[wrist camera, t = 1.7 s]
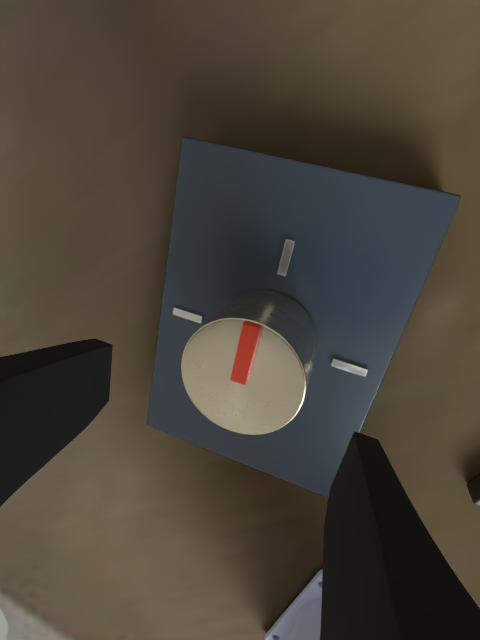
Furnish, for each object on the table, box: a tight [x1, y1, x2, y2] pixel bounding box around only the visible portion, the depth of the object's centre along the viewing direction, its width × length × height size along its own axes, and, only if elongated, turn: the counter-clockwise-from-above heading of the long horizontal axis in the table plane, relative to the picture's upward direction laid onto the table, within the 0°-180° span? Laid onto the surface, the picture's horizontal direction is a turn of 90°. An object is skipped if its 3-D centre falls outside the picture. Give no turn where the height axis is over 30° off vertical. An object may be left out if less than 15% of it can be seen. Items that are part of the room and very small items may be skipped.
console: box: [147, 137, 461, 498], centre depth 16 cm, size 14×10×3 cm
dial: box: [181, 290, 317, 435], centre depth 13 cm, size 4×4×4 cm
